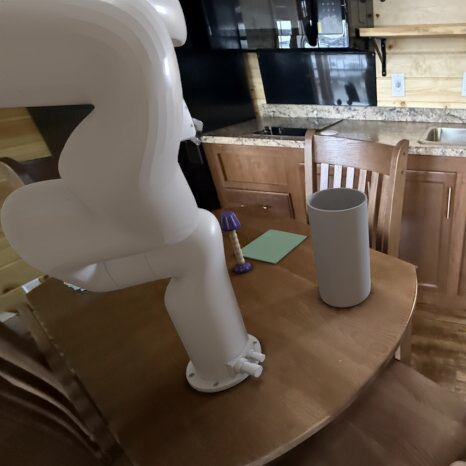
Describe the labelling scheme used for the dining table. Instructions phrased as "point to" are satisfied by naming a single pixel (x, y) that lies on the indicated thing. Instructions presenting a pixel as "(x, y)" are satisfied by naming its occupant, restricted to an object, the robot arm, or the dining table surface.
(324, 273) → the cylinder vase
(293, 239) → the mat
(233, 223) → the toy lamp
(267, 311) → the dining table surface
